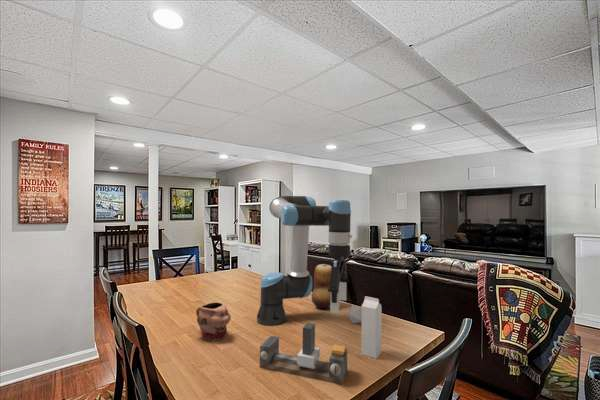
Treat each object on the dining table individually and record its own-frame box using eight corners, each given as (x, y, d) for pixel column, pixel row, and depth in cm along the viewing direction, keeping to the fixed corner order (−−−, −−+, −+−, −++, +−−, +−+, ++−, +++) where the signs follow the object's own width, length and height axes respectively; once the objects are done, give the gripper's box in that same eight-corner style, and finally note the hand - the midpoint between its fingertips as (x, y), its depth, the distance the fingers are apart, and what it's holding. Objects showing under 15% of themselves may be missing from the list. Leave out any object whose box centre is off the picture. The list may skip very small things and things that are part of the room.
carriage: (296, 367, 98) (297, 328, 99) (304, 356, 106) (304, 320, 106) (313, 371, 96) (313, 331, 97) (319, 359, 104) (320, 322, 104)
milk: (367, 348, 117) (367, 294, 119) (381, 353, 114) (381, 297, 115) (361, 354, 113) (361, 297, 114) (376, 359, 109) (375, 300, 110)
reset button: (331, 361, 96) (331, 349, 97) (334, 356, 100) (334, 344, 100) (343, 364, 95) (343, 351, 95) (345, 358, 99) (345, 346, 99)
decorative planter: (184, 337, 126) (185, 305, 127) (204, 327, 137) (204, 297, 138) (219, 346, 118) (220, 312, 118) (238, 335, 129) (238, 303, 129)
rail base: (258, 367, 102) (259, 346, 102) (270, 355, 111) (270, 335, 111) (342, 385, 92) (342, 361, 92) (347, 370, 101) (347, 348, 101)
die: (361, 328, 140) (370, 310, 143) (346, 318, 141) (355, 301, 145) (358, 328, 147) (366, 311, 151) (343, 318, 149) (352, 302, 152)
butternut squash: (328, 313, 159) (329, 267, 160) (307, 308, 165) (308, 265, 167) (338, 306, 171) (338, 264, 172) (318, 302, 177) (318, 262, 179)
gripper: (343, 249, 87) (342, 320, 86) (355, 241, 110) (354, 296, 109) (319, 247, 89) (318, 316, 88) (336, 240, 113) (335, 294, 112)
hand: (338, 305), depth 99 cm, fingers open, 13 cm apart
